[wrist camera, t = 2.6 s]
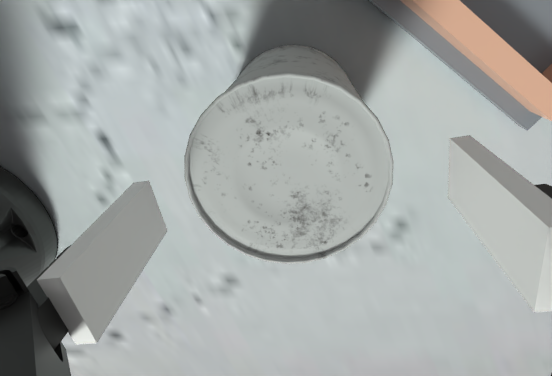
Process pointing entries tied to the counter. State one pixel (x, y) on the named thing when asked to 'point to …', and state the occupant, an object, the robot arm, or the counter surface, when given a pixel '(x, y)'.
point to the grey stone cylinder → (289, 160)
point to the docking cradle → (488, 47)
